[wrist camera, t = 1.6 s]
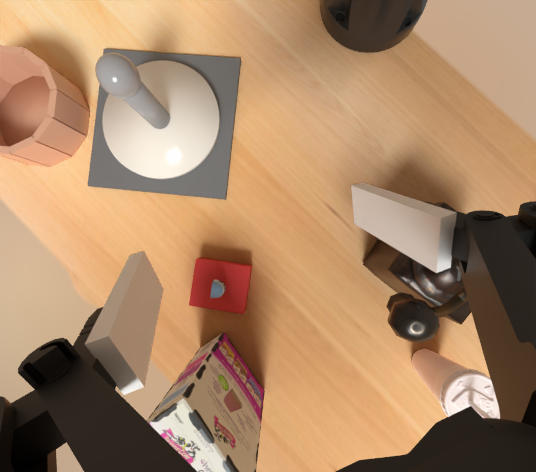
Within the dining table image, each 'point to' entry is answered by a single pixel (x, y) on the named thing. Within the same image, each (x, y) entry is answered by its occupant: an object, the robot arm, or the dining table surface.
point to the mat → (217, 163)
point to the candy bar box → (213, 411)
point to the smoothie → (456, 384)
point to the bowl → (38, 110)
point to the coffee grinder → (418, 292)
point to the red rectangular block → (220, 285)
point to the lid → (157, 116)
